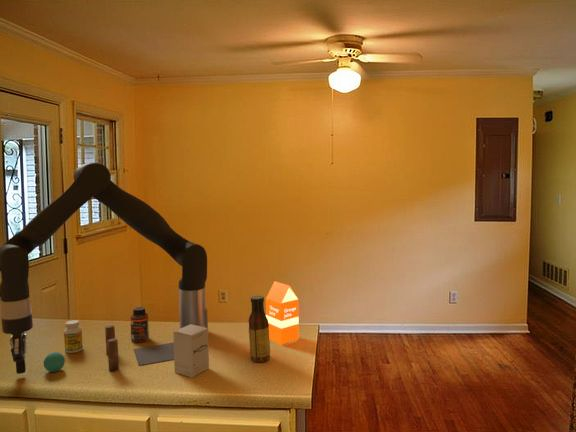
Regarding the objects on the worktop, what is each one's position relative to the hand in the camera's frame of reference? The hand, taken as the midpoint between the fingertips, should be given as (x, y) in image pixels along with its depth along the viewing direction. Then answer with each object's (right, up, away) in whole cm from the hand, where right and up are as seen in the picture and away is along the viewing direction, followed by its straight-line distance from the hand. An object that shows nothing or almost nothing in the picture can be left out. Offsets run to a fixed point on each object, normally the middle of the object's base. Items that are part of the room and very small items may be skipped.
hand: (21, 372), depth 132 cm
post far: (+20, +1, +16) cm, 25 cm away
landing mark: (+35, +1, +16) cm, 39 cm away
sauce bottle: (+68, 0, +11) cm, 69 cm away
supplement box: (+49, -1, +3) cm, 49 cm away
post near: (+25, -1, +4) cm, 25 cm away
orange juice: (+75, +2, +27) cm, 80 cm away
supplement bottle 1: (+6, +1, +19) cm, 20 cm away
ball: (+8, +2, +3) cm, 9 cm away
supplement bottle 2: (+25, +2, +28) cm, 38 cm away
